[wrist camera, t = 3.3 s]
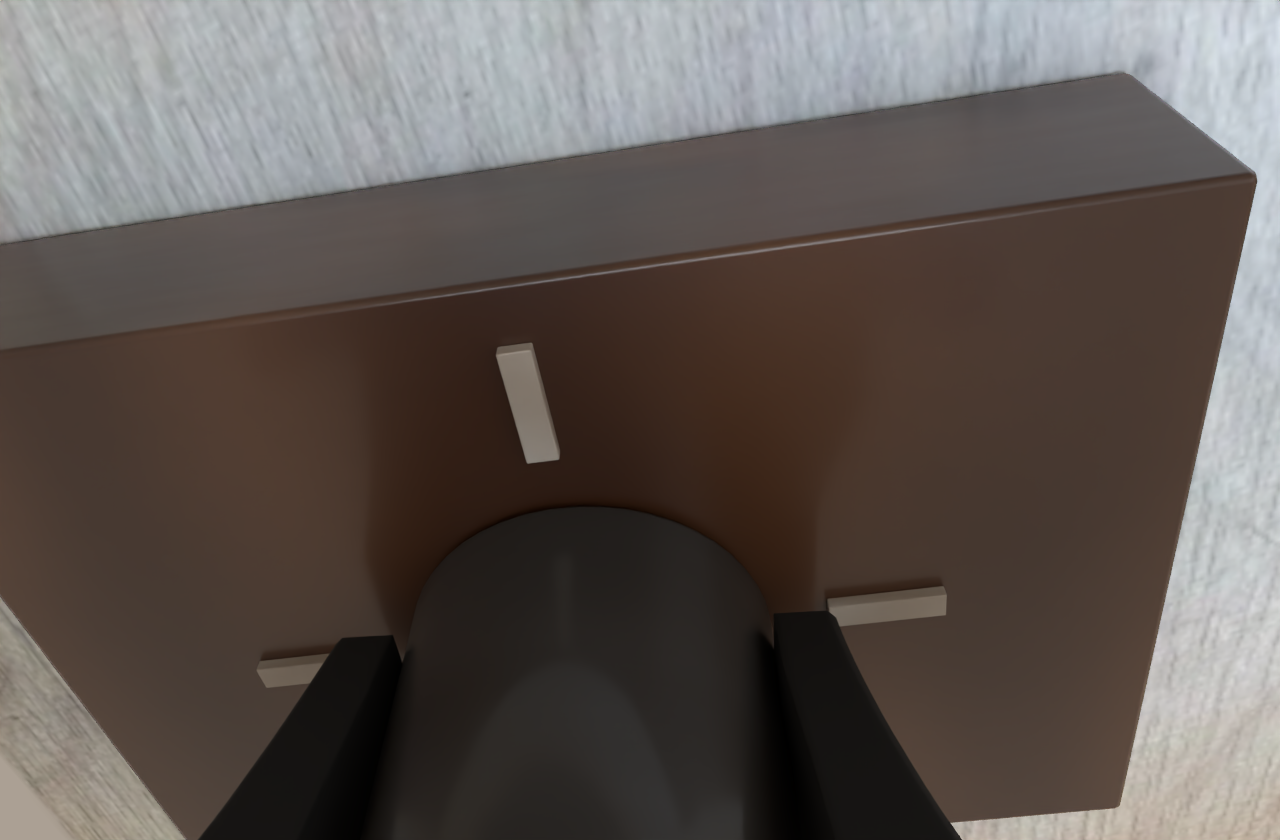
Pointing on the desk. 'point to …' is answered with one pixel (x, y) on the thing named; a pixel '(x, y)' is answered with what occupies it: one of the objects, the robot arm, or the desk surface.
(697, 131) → the desk surface
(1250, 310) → the desk surface
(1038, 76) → the desk surface
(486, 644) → the rotary knob
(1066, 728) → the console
